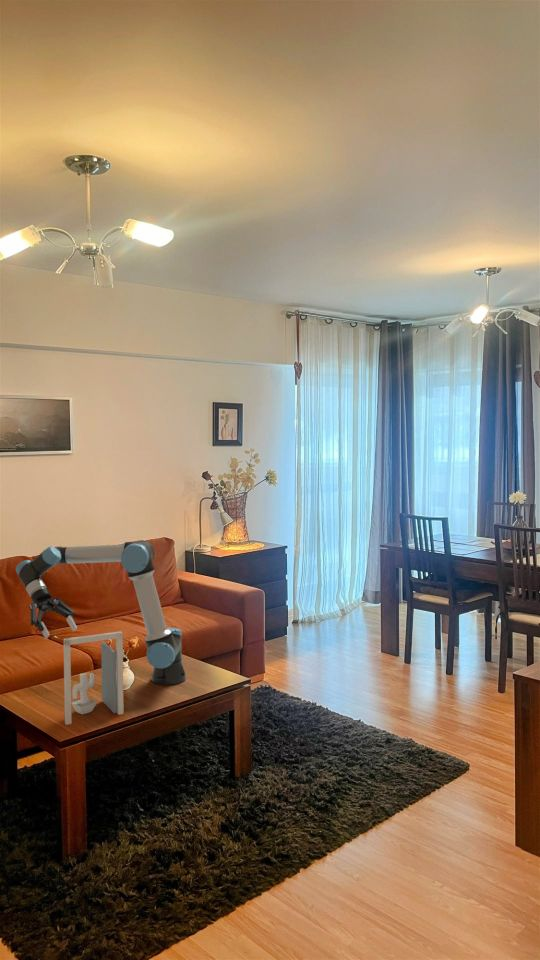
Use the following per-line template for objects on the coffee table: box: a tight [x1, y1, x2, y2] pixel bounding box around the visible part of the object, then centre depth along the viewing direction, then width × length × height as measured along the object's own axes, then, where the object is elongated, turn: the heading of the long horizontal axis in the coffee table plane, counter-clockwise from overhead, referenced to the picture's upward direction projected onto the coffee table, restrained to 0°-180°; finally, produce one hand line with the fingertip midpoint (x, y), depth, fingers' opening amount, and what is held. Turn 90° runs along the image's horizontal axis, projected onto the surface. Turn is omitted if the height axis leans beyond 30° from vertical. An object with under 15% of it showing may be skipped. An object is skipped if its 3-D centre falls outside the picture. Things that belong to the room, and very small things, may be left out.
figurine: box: [71, 672, 98, 715], centre depth 272 cm, size 7×9×15 cm
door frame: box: [63, 631, 125, 726], centre depth 264 cm, size 22×2×32 cm, turn 119°
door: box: [100, 641, 117, 714], centre depth 276 cm, size 16×3×24 cm, turn 29°
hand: (61, 633), depth 284 cm, fingers open, 13 cm apart
